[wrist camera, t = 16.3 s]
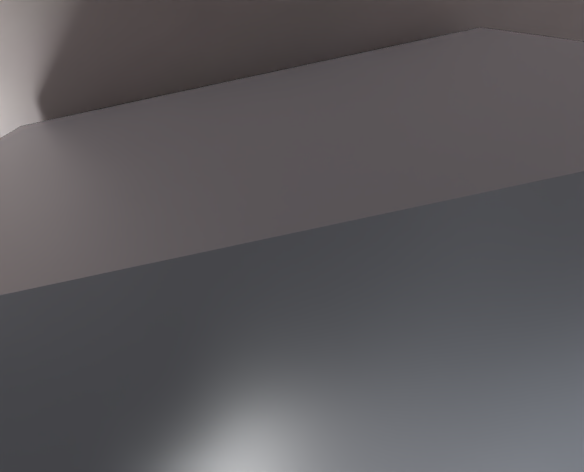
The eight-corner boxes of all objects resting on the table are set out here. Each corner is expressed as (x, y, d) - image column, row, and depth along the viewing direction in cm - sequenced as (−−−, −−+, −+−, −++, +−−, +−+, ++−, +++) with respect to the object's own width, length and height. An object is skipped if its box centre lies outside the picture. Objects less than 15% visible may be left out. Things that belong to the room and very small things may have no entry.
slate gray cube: (481, 27, 12) (952, 91, 4) (500, 395, 16) (754, 792, 8) (20, 126, 12) (-420, 383, 4) (157, 467, 16) (71, 932, 8)
